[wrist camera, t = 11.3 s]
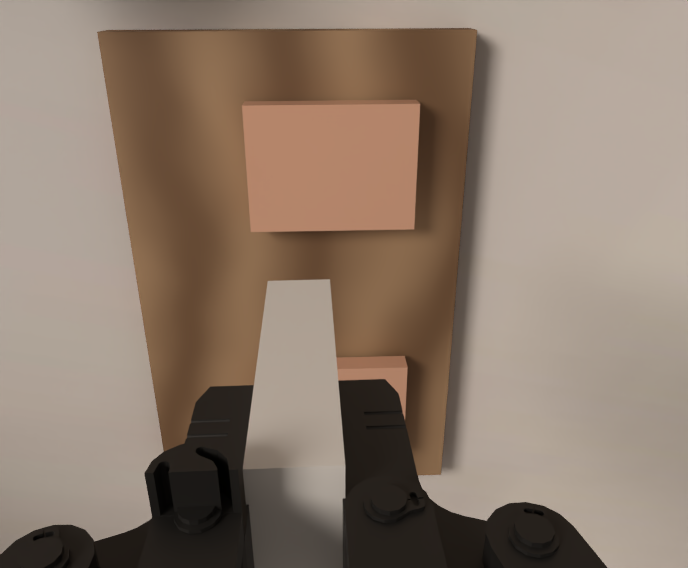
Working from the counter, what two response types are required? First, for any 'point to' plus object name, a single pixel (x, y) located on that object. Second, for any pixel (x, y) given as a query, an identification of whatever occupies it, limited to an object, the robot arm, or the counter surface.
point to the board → (294, 246)
